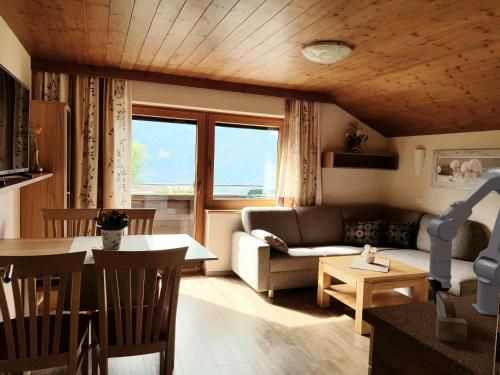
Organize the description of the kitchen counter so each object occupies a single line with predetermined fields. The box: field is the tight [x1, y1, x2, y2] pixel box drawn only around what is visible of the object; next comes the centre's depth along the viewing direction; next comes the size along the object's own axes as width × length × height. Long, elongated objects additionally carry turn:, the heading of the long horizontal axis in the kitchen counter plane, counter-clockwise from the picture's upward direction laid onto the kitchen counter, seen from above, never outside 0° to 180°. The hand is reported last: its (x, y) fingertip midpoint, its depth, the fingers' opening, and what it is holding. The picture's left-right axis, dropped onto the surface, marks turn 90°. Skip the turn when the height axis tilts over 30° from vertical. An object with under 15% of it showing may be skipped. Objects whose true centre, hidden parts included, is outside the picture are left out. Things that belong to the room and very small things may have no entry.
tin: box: [435, 291, 458, 318], centre depth 103 cm, size 15×3×8 cm, turn 163°
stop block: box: [435, 315, 468, 344], centre depth 94 cm, size 6×3×5 cm, turn 77°
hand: (438, 304), depth 112 cm, fingers closed
